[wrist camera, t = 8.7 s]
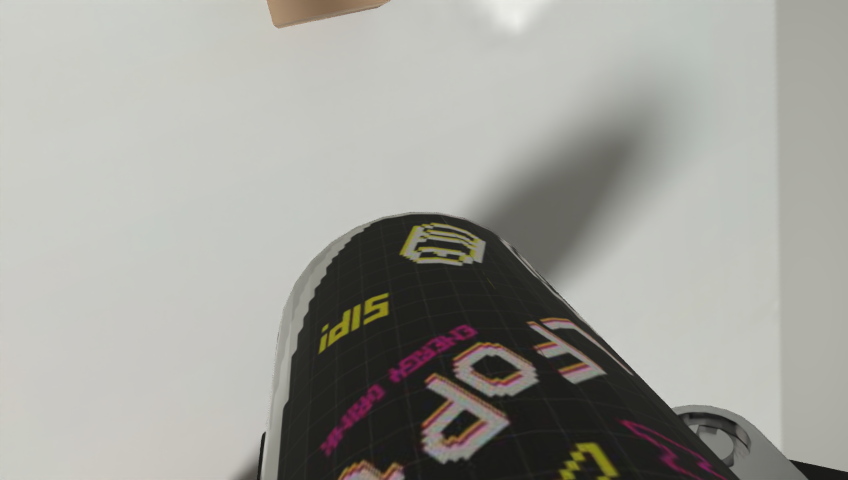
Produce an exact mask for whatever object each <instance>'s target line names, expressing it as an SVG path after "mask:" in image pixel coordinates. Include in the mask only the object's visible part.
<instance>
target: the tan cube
mask: <svg viewBox="0 0 848 480" xmlns="http://www.w3.org/2000/svg"><path fill="white" fill-rule="evenodd" d="M388 1H390V0H267V3H268V7H269V10H270V14H271V18H272V21H273V25H274V26H276V27H277V28H283V27H287V26H292V25H297V24H302V23H307V22H311V21H316V20H321V19H326V18H331V17H335V16H340V15H345V14H350V13H355V12H359V11H364V10H369V9H374V8H378V7H380V6H381V5H383V4H385V3H387V2H388Z"/></svg>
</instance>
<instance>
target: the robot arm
mask: <svg viewBox="0 0 848 480" xmlns="http://www.w3.org/2000/svg"><path fill="white" fill-rule="evenodd" d="M672 410H673V411H674V412H675V413H676V414H677V415H678V416H679V417H680V418H681V419H682V420H683V421H684V422H685V423H686V424H687V425H688V427H689V428H690V429H691V430H692V431H693V432H694V433H695V434H696V435H697V436H698V437H699V438H700V439H701V440H702V441H703V442H704V443H705V444H706V445H707V446H708V447H709V448H710V449H711V450H712V451H713V452H714V453H715V454H716V455H717V456H718V457H719V458H720V459H721V460H722V461H723V462H724V463H725V464H726V465H727V466H728V467H729V468H730V469H731V470H732V472H733V473H734V474H735V475H736V476H737V477H738V478H739V479H740V480H848V472H845V471H840V470H835V469H830V468H826V467H821V466H817V465H812V464H807V463H803V462H798V461H793V460H788V459H787V458H786V457H785V456H784V455H783V454H782V453H781V452H780V451H779V450H778V449H777V448H776V447H775V446H774V445H773V444H772V443H771V442H770V441H769V440H768V439H767V438H766V437H765V436H764V435H763V434H762V433H761V432H760V431H759V430H758V429H757V428H756V427H755V426H754V425H753V424H751V423H750V422H749V421H747V420H746V419H745V418H743V417H742V416H740V415H737V414H735V413H733V412H731V411H728V410H725V409H721V408H717V407H713V406H704V405H687V406H680V407H675V408H672ZM265 436H266V432H264V433H263V435H262V439H261V447H260V457H259V466H258V475H257V480H260V477H261V469H262V461H263V453H264V444H265Z"/></svg>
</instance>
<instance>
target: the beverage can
mask: <svg viewBox="0 0 848 480" xmlns="http://www.w3.org/2000/svg"><path fill="white" fill-rule="evenodd" d="M260 480H740V479H739V478H738V477H737V476H736V475H735V474H734V473H733V472H732V470H731V469H730V468H729V467H728V466H727V465H726V464H725V463H724V462H723V461H722V460H721V459H720V458H719V457H718V456H717V455H716V454H715V453H714V452H713V451H712V450H711V449H710V448H709V447H708V446H707V445H706V444H705V443H704V442H703V441H702V440H701V439H700V438H699V437H698V436H697V435H696V434H695V433H694V432H693V431H692V430H691V429H690V428H689V427H688V425H687V424H686V423H685V422H684V421H683V420H682V419H681V418H680V417H679V416H678V415H677V414H676V413H675V412H674V411H673V410H672V409H671V408H670V407H669V406H668V405H667V404H666V403H665V402H664V401H663V400H662V399H661V398H660V397H659V396H658V395H657V394H656V393H655V392H654V391H653V390H652V389H651V388H650V387H649V386H648V385H647V384H646V383H645V382H644V380H643V379H642V378H641V377H640V376H639V375H638V374H637V373H636V372H635V371H634V370H633V369H632V368H631V367H630V366H629V365H628V364H627V363H626V362H625V361H624V360H623V359H622V358H621V357H620V356H619V355H618V354H617V353H616V352H615V351H614V350H613V349H612V348H611V347H610V346H609V345H608V344H607V343H606V342H605V341H604V340H603V339H602V338H601V337H600V336H599V334H598V333H597V332H596V331H595V330H594V329H593V328H592V327H591V326H590V325H589V324H588V323H587V322H586V321H585V320H584V319H583V318H582V317H581V316H580V315H579V314H578V313H577V312H576V311H575V310H574V309H573V308H572V307H571V306H570V305H569V304H568V303H567V302H566V301H565V300H564V299H563V298H562V297H561V296H560V295H559V294H558V293H557V292H556V291H555V289H554V288H553V287H552V286H551V285H550V284H549V283H548V282H547V281H546V280H545V279H544V278H543V277H542V276H541V275H540V274H539V273H538V272H537V271H536V270H535V269H534V268H533V267H532V266H531V265H530V264H529V263H528V262H527V261H526V260H525V259H524V258H523V257H522V256H521V255H520V254H519V253H518V252H517V251H516V250H515V249H514V248H513V247H512V246H511V244H509V243H508V242H506V241H505V240H504V239H502V238H501V237H499V236H498V235H497V234H495V233H494V232H493V231H491V230H490V229H488V228H485V227H483V226H481V225H479V224H476V223H474V222H472V221H470V220H467V219H465V218H461V217H456V216H452V215H447V214H442V213H430V212H409V213H403V214H398V215H392V216H386V217H382V218H379V219H377V220H374V221H371V222H369V223H366V224H363V225H361V226H358V227H356V228H354V229H352V230H351V231H349V232H348V233H346V234H344V235H343V236H341V237H339V238H338V239H336V240H335V241H333V242H332V243H330V244H329V245H328V246H327V247H326V248H325V249H324V250H323V251H322V252H321V253H320V254H318V255H317V256H316V257H315V258H314V259H313V260H312V261H311V262H310V264H309V265H308V266H307V268H306V269H305V270H304V272H303V273H302V274H301V276H300V277H299V279H298V280H297V281H296V283H295V285H294V287H293V289H292V291H291V293H290V296H289V298H288V300H287V302H286V305H285V307H284V309H283V313H282V318H281V323H280V327H279V332H278V338H277V346H276V354H275V363H274V371H273V379H272V387H271V395H270V403H269V412H268V420H267V428H266V436H265V444H264V453H263V461H262V469H261V477H260Z"/></svg>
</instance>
